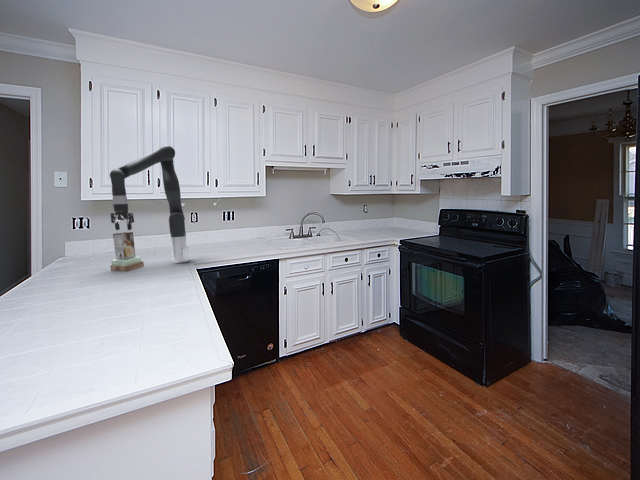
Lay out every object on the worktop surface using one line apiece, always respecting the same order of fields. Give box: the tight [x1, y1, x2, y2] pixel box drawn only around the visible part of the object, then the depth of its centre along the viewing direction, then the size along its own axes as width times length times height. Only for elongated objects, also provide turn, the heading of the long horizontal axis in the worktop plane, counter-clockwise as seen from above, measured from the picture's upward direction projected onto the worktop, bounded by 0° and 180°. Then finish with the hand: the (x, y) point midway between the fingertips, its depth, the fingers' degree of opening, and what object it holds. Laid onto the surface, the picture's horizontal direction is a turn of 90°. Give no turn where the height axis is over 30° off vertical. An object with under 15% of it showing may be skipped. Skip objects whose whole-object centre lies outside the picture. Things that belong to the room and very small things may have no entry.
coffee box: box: [112, 231, 137, 260], centre depth 197 cm, size 9×6×16 cm
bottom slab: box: [110, 260, 145, 272], centre depth 199 cm, size 12×13×4 cm
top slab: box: [111, 256, 142, 266], centre depth 199 cm, size 10×12×3 cm
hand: (123, 230), depth 195 cm, fingers open, 8 cm apart
